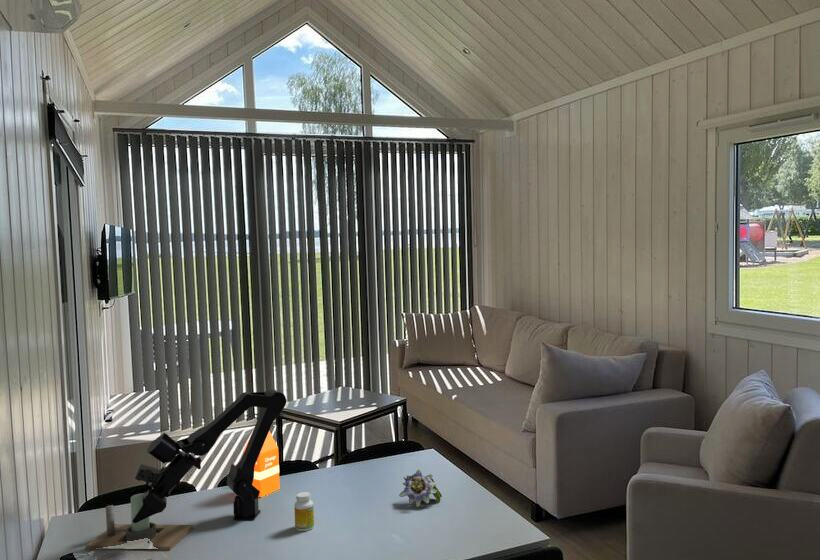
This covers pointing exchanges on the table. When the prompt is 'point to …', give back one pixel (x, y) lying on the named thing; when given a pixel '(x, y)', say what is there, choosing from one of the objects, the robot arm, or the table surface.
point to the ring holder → (139, 534)
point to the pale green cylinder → (135, 507)
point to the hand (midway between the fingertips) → (134, 516)
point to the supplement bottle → (304, 512)
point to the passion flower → (420, 488)
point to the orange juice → (267, 468)
